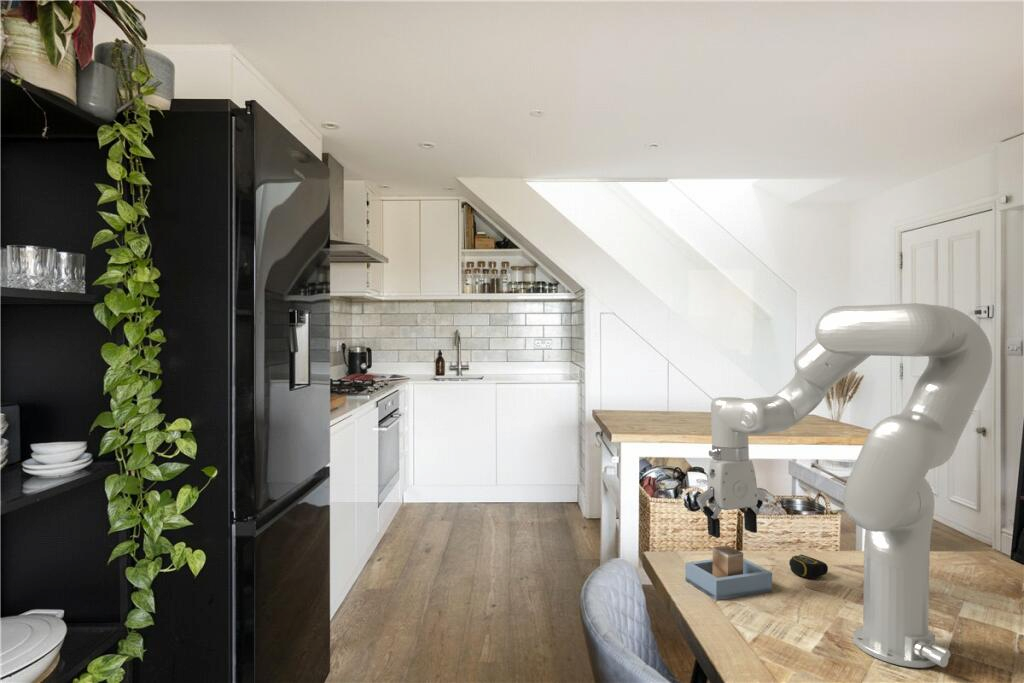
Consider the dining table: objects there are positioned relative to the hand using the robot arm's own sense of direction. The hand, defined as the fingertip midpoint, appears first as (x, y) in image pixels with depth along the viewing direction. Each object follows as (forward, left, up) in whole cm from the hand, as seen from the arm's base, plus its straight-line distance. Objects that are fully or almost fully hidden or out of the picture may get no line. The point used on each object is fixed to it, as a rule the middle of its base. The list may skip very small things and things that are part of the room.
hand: (732, 533), depth 128 cm
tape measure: (+1, -22, -12) cm, 25 cm away
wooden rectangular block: (+1, 0, -11) cm, 11 cm away
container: (+1, 0, -12) cm, 12 cm away
